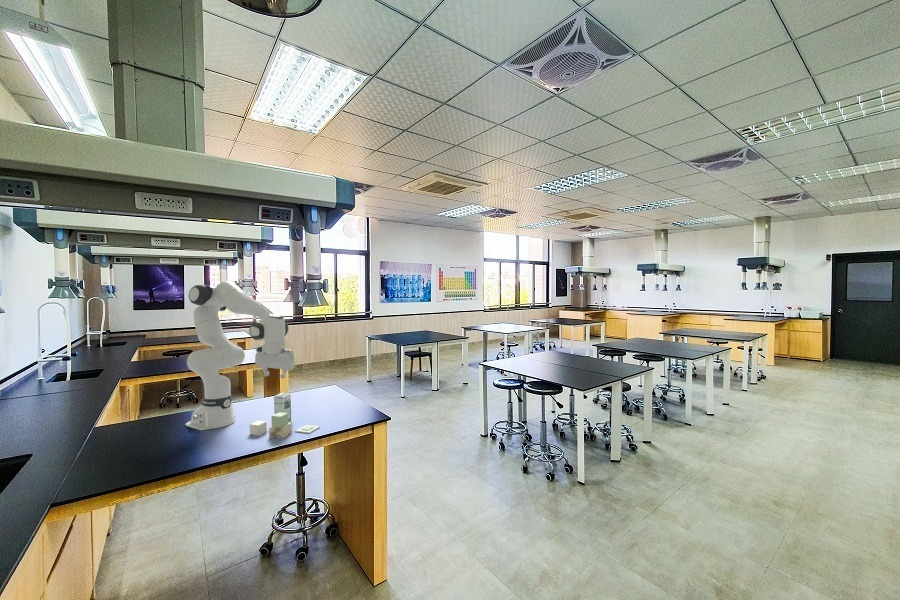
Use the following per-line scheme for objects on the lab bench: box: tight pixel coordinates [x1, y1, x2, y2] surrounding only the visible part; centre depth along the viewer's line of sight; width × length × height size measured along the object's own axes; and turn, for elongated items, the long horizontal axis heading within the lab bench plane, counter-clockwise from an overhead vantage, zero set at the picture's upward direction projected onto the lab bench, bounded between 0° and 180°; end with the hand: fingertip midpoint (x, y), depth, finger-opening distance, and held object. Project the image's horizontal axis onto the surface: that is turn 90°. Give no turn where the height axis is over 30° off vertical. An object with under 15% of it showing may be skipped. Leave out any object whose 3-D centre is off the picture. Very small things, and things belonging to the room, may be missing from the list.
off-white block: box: [249, 420, 268, 436], centre depth 171 cm, size 5×5×5 cm
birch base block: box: [268, 421, 292, 439], centre depth 169 cm, size 7×7×5 cm
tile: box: [294, 424, 321, 434], centre depth 175 cm, size 8×8×1 cm
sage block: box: [271, 412, 288, 427], centre depth 169 cm, size 5×5×5 cm
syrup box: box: [273, 392, 292, 422], centre depth 185 cm, size 6×6×14 cm
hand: (274, 377), depth 172 cm, fingers open, 8 cm apart
